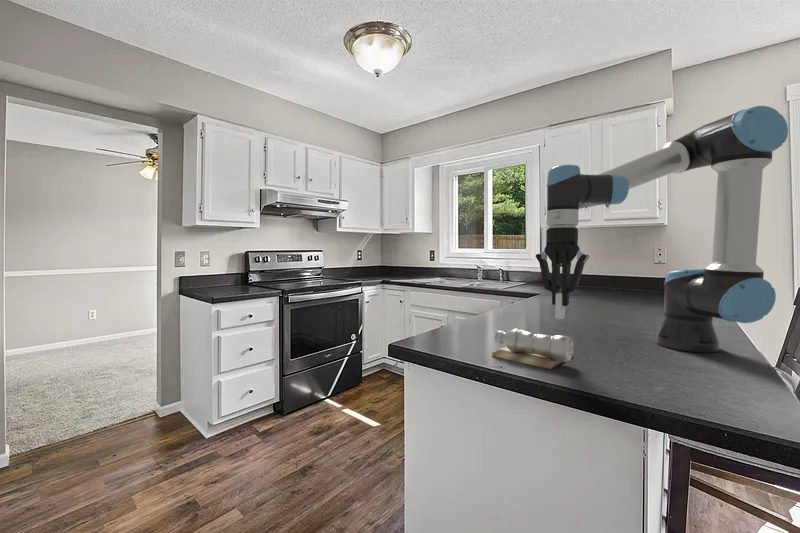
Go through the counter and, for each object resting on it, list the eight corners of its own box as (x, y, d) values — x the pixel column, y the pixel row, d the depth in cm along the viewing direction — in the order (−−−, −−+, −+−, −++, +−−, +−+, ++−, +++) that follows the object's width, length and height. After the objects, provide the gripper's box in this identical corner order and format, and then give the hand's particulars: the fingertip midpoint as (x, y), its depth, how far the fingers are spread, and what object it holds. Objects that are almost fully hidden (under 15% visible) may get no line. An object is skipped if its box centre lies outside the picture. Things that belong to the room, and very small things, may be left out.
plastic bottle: (574, 331, 92) (499, 320, 105) (566, 352, 88) (490, 337, 102) (578, 348, 95) (505, 335, 109) (570, 369, 92) (496, 353, 105)
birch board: (572, 356, 102) (572, 351, 101) (550, 369, 91) (550, 364, 91) (517, 345, 113) (517, 341, 113) (492, 355, 102) (492, 351, 102)
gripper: (531, 227, 97) (529, 316, 98) (584, 225, 88) (581, 323, 89) (543, 228, 103) (541, 313, 104) (594, 226, 94) (591, 319, 95)
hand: (560, 317), depth 97 cm, fingers closed
